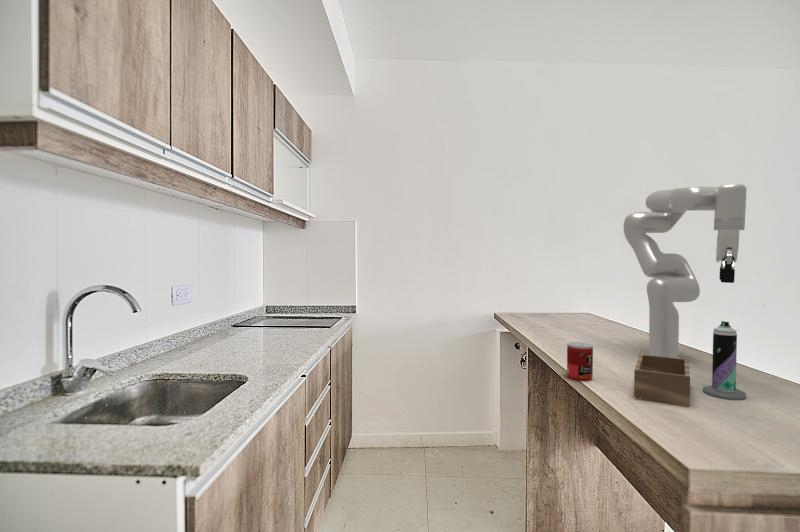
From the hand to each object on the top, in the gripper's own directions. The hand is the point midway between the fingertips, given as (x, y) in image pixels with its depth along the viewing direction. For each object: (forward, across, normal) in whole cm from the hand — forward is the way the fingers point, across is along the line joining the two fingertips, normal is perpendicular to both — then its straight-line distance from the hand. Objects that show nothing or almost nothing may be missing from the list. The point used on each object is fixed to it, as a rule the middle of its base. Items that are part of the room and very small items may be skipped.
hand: (726, 281), depth 134 cm
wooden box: (+32, +20, -15) cm, 40 cm away
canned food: (+32, +19, -38) cm, 53 cm away
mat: (+32, +13, 0) cm, 34 cm away
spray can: (+31, +13, 0) cm, 33 cm away
